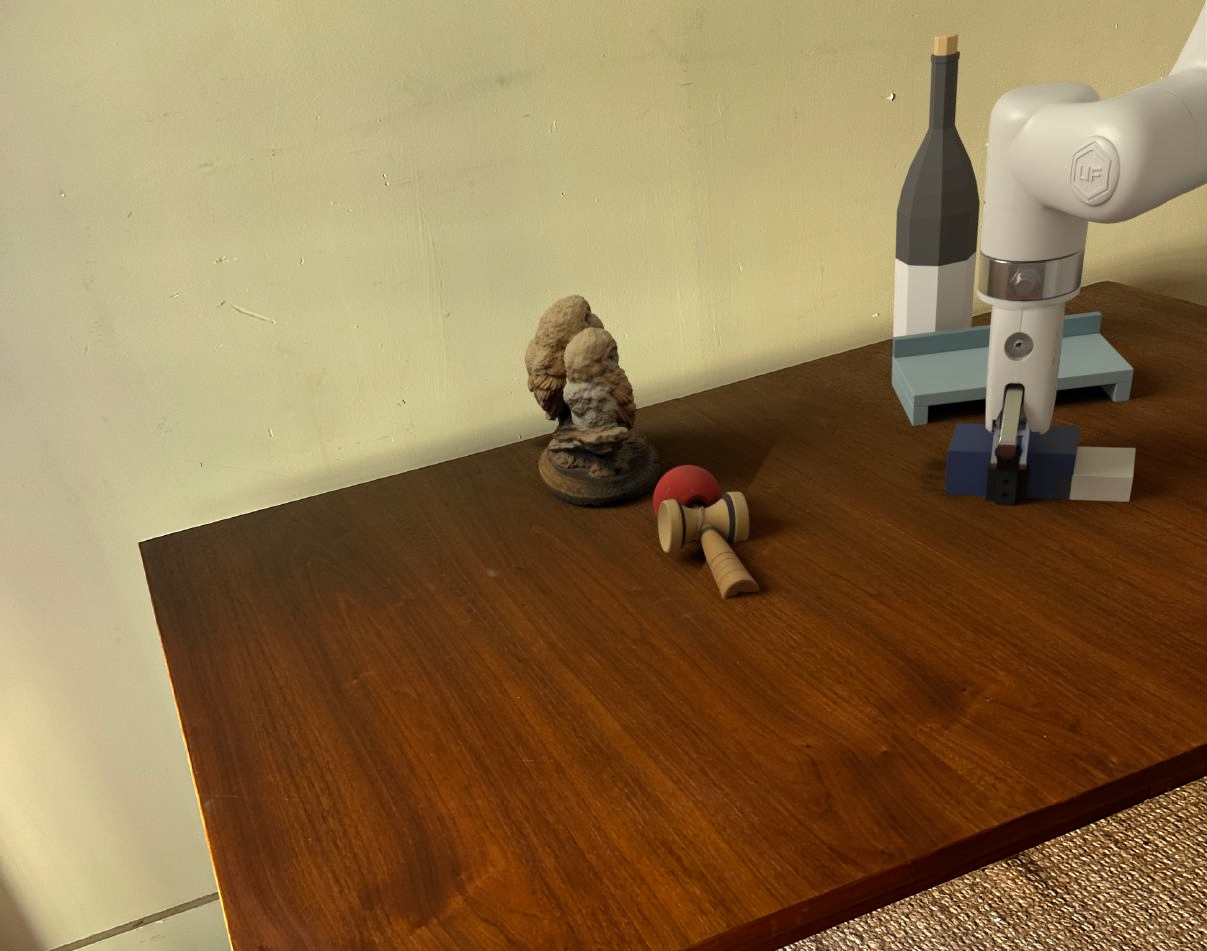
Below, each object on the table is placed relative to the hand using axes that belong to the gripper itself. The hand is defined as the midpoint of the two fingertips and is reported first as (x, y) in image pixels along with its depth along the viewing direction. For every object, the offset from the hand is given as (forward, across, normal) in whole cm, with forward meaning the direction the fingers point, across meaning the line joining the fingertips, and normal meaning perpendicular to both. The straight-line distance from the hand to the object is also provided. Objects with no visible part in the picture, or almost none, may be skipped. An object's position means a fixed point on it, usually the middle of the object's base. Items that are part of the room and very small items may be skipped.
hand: (1009, 490), depth 102 cm
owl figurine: (+1, +2, +38) cm, 39 cm away
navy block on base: (+1, 0, -2) cm, 2 cm away
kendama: (+1, -14, +22) cm, 27 cm away
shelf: (+1, +20, +2) cm, 20 cm away
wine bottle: (+1, +33, +12) cm, 35 cm away
